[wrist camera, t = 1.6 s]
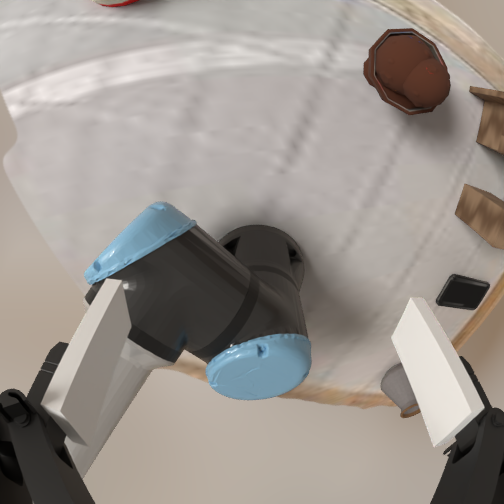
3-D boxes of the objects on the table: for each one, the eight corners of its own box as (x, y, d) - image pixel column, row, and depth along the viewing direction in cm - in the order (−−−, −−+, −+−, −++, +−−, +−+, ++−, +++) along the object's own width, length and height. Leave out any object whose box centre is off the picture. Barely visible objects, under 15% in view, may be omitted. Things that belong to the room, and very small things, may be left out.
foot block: (481, 221, 46) (517, 252, 35) (454, 213, 45) (492, 246, 35) (490, 193, 43) (530, 221, 32) (464, 183, 42) (506, 211, 32)
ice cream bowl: (424, 73, 34) (488, 78, 21) (383, 122, 38) (439, 142, 25) (374, 23, 30) (428, 2, 17) (329, 73, 35) (370, 67, 22)
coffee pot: (395, 387, 72) (410, 431, 59) (369, 380, 69) (383, 429, 56) (451, 337, 62) (475, 381, 49) (428, 326, 59) (454, 375, 46)
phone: (453, 275, 51) (491, 284, 53) (450, 272, 52) (489, 281, 54) (435, 305, 55) (475, 311, 57) (433, 302, 56) (472, 308, 58)
